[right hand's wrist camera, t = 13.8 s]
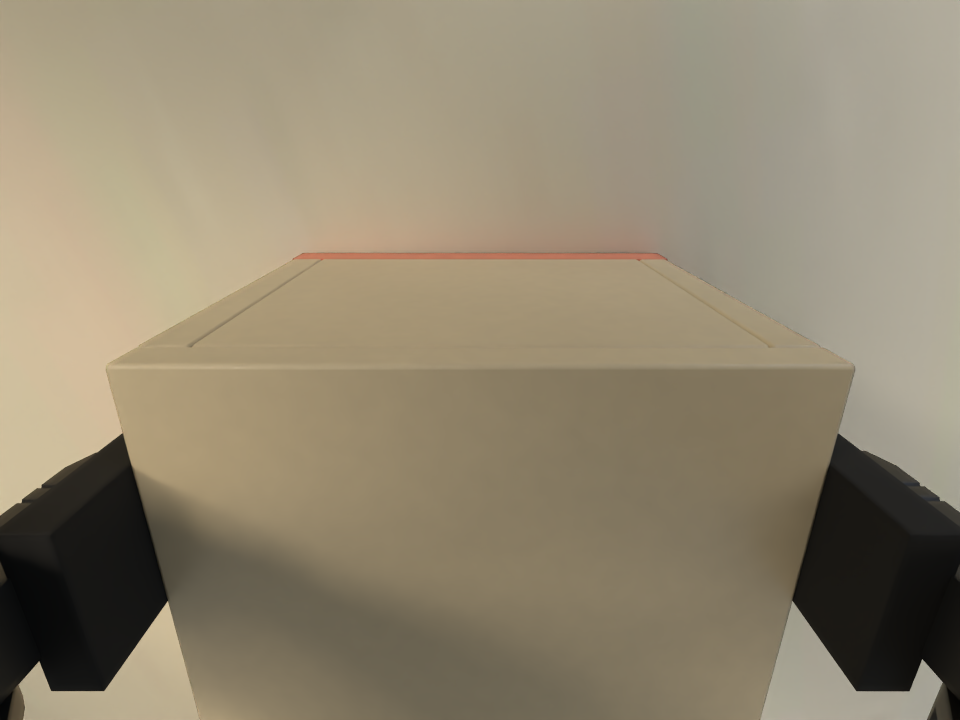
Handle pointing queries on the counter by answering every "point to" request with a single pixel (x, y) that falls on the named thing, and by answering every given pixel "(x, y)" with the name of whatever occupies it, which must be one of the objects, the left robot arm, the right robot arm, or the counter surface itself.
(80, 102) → the counter surface
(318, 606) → the cabinet
